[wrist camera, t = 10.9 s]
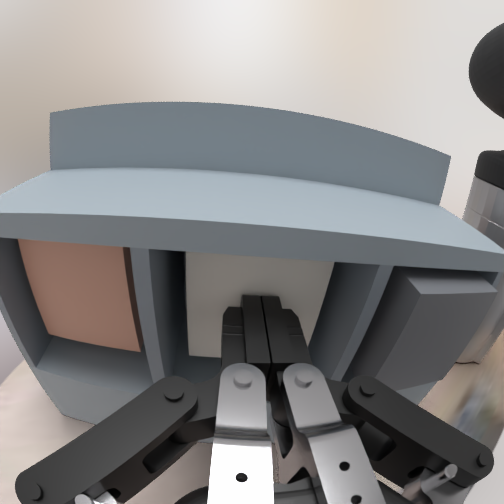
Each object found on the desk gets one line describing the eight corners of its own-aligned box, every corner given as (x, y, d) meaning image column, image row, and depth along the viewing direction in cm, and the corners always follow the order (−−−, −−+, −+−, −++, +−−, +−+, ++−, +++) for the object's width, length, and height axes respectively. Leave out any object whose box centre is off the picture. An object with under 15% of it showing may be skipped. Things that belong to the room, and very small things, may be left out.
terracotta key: (140, 352, 12) (121, 238, 9) (48, 334, 11) (15, 231, 9) (159, 292, 16) (155, 197, 14) (82, 283, 16) (67, 195, 13)
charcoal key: (442, 379, 12) (498, 291, 9) (362, 396, 11) (421, 293, 8) (408, 324, 16) (443, 243, 13) (334, 327, 15) (366, 233, 13)
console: (400, 422, 16) (531, 190, 8) (62, 414, 13) (-38, 129, 5) (365, 344, 24) (433, 150, 15) (96, 331, 21) (67, 111, 13)
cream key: (303, 358, 13) (337, 252, 10) (189, 355, 12) (186, 241, 10) (287, 299, 17) (306, 208, 15) (197, 294, 17) (200, 199, 14)
